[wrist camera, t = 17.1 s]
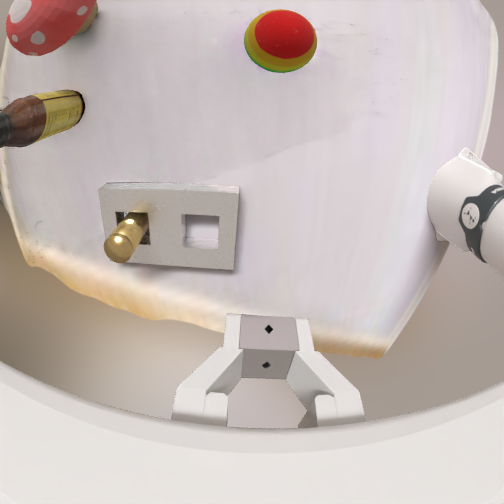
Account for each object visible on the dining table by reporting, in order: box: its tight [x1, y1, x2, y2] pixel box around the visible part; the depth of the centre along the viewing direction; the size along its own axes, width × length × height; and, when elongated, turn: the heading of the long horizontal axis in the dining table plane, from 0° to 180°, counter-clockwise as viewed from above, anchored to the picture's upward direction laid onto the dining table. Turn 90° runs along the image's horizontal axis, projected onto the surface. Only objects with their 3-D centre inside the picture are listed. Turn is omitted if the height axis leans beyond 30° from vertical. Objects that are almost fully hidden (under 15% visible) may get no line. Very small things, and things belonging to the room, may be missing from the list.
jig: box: [98, 182, 239, 270], centre depth 38 cm, size 20×12×3 cm, turn 85°
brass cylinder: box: [104, 212, 149, 263], centre depth 35 cm, size 4×4×9 cm
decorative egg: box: [244, 9, 317, 73], centre depth 23 cm, size 8×8×10 cm
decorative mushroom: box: [6, 0, 98, 56], centre depth 15 cm, size 13×13×15 cm
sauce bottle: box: [0, 90, 85, 148], centre depth 21 cm, size 6×6×20 cm
